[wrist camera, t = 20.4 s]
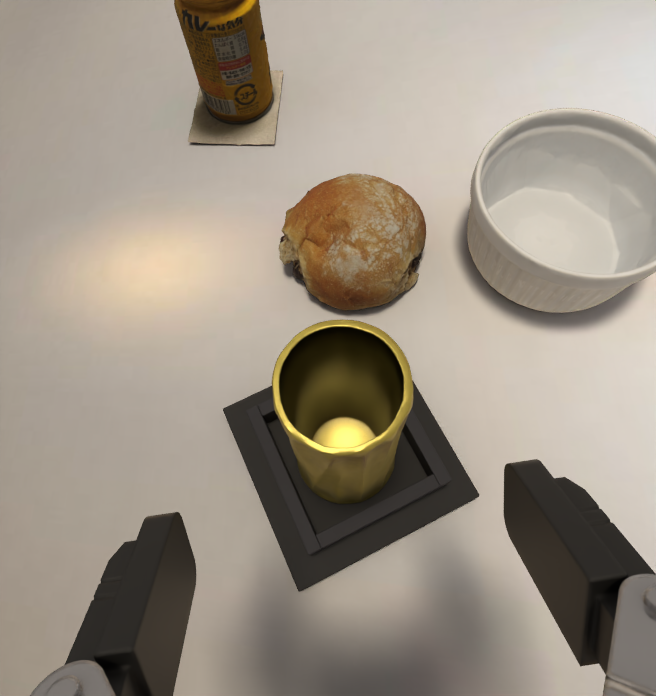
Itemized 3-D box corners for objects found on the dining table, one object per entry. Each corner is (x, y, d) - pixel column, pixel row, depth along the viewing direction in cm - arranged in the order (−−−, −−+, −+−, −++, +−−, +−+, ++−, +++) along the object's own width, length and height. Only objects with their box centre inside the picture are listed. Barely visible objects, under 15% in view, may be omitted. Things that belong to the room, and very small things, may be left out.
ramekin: (576, 156, 41) (618, 82, 34) (675, 291, 36) (746, 234, 29) (424, 209, 39) (439, 142, 33) (506, 356, 35) (542, 311, 28)
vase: (322, 522, 30) (301, 500, 17) (280, 431, 32) (232, 348, 19) (412, 476, 31) (458, 419, 18) (365, 390, 33) (375, 282, 20)
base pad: (300, 591, 30) (295, 594, 27) (225, 412, 34) (214, 400, 31) (476, 497, 31) (488, 492, 28) (384, 337, 35) (386, 319, 33)
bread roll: (376, 343, 39) (434, 312, 32) (253, 289, 36) (286, 242, 29) (404, 237, 43) (462, 188, 35) (294, 181, 40) (333, 115, 33)
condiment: (283, 72, 46) (261, -83, 34) (274, 145, 42) (247, 1, 31) (203, 72, 46) (156, -81, 35) (189, 144, 43) (132, 2, 32)
